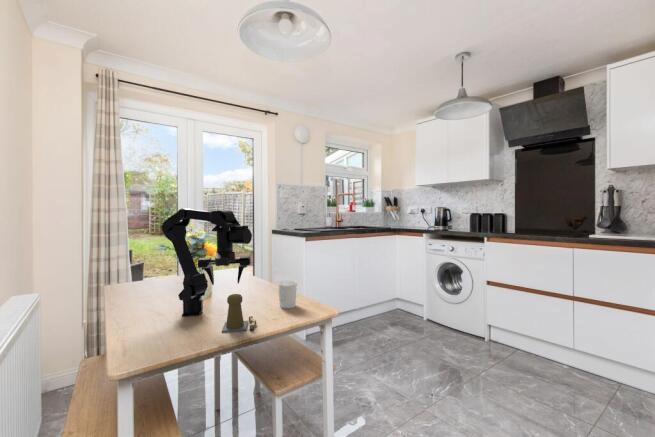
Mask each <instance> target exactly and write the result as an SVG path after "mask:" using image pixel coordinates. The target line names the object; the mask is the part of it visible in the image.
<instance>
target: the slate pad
mask: <svg viewBox="0 0 655 437" xmlns="http://www.w3.org/2000/svg"><path fill="white" fill-rule="evenodd" d="M243 322H244V326H243V327H241V328H237V329H229V328H227V327H226V324H227V321H225V322H224V324H223V326H222V329H221V334H222V333H223V334H224V333H236V332H247V329H248V323H249V320H243Z"/></svg>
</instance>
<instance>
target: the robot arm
mask: <svg viewBox="0 0 655 437" xmlns="http://www.w3.org/2000/svg"><path fill="white" fill-rule="evenodd" d="M191 220H195V221H202V222H203V221H205V222H209V223H210V224H212V225H215V226H214V227H213V228H212V229H211V232H215V233H216V251H215V252H216V253H215V256H214V259H212V257H201V258H200V259H198V261H197V266H196V265H195V264H196V263H195V261H194V259H193V256H192V253H191V251H190V248H189V245H188V243H187V240H186V236H187V231H188V230H187V226H189V224H190V221H191ZM161 230H162V233H163V235H164V236H165V238H166V239H167V240H169V241H170V242H171V244H172V246H173V249H174V251H175V254H176V256H177V259H178V263H179V264H180V267H181V271H182V273H183V279H182V280H183V281H182V285H183V289H182V290H181V292H180V293H178V295H177V296H178V300H179V301H182V314H181V316H182V317H185V316H186V317H187V316H188V317H189V316H199V315H201V313H202V312H203V311H204V300H203V299H202V297H204V296H205V295H206V291H207V290H208V289H207V288H208V287H209V286H208V285H209V284H208V282H209V281H208V279H207V277H206V274H207V276H208V278H209V280H210V283H211V285H212V286H214V285H215V276H214V266H213V265H215V266H216V267H220V266H224V267H228V266H230V265H231V264H232V265H234V264H239V265H238V270H237V272H238V273H237V284H240V281H241V277H242V274H243V270H244V269H245V268H247V267H248V266H251V264H252V257H251V256H250V255H245V256H243V255H242V256H239V258H236V251H234V244H239V245H249V244H250V243H251V242H252V239H253V233H252V231H251V230H250V229H249V225H241V224H240V222H239V221H238V219H237V218H236V216H235V214H234V211H232V210H211V211H210V210H200V209H192V208H187V207H183V208H180V209H178V211H177V212H175V213H174V214H172V215H171V216H169V217H168V218H167V219H166V220H164V221H163V222H162V224H161ZM198 268H201V270H204V271H205V272H206V274H205V273H204V272H200V271H198Z"/></svg>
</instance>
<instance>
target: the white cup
mask: <svg viewBox="0 0 655 437" xmlns="http://www.w3.org/2000/svg"><path fill="white" fill-rule="evenodd" d="M277 285H278V286H277V287H278V298H279V307H280V308H281V309H286V310H287V309H293V308H295V307H296V306H297V305H296V304H297V302H296V301H297V291H298V290H297V289H298V288H297V286H298V282H296V281H293V280H287V281H286V280H283V281H280V282H278V284H277Z"/></svg>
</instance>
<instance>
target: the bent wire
mask: <svg viewBox="0 0 655 437" xmlns="http://www.w3.org/2000/svg"><path fill="white" fill-rule="evenodd" d="M248 323H250V325H249V331H250V332H252V331H254V330H255V328H256V326H257V320H255V319H254V317H253V316H252V315H250V316H248Z"/></svg>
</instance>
